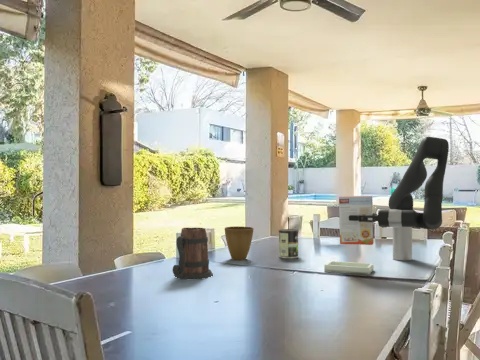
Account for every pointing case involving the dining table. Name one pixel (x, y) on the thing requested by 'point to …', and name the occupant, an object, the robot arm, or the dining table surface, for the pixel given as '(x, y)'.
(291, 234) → the coffee can
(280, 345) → the dining table surface
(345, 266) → the tray
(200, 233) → the tankard
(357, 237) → the cracker box
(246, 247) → the plant pot
